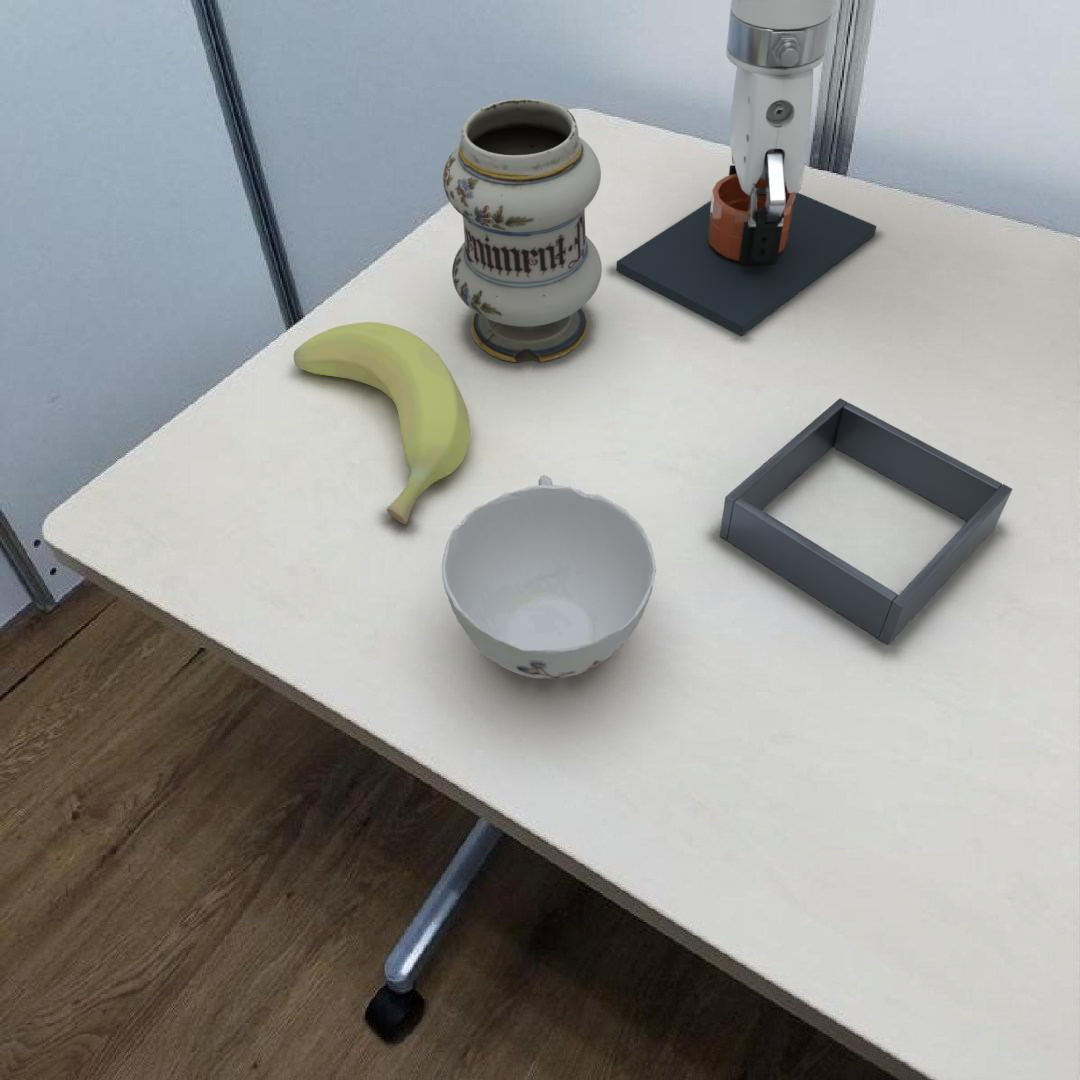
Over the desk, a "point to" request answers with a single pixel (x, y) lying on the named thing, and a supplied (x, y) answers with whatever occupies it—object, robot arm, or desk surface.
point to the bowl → (738, 216)
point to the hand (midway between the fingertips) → (750, 233)
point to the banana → (400, 395)
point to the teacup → (548, 579)
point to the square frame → (896, 460)
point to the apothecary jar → (524, 228)
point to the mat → (743, 291)
